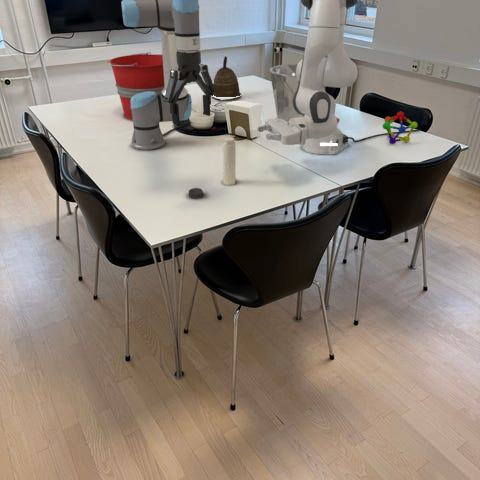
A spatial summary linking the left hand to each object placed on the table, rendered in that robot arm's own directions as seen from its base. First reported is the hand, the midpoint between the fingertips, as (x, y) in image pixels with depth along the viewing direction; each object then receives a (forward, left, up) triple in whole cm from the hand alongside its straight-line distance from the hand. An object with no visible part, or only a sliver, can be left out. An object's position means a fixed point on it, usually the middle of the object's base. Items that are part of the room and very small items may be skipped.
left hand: (191, 119), depth 147 cm
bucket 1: (-97, -48, -28) cm, 111 cm away
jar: (-13, +11, -28) cm, 33 cm away
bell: (-140, -9, -28) cm, 144 cm away
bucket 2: (-88, +35, -28) cm, 99 cm away
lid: (0, 0, -27) cm, 27 cm away
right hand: (-18, +22, -10) cm, 30 cm away
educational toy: (-67, +83, -28) cm, 110 cm away
